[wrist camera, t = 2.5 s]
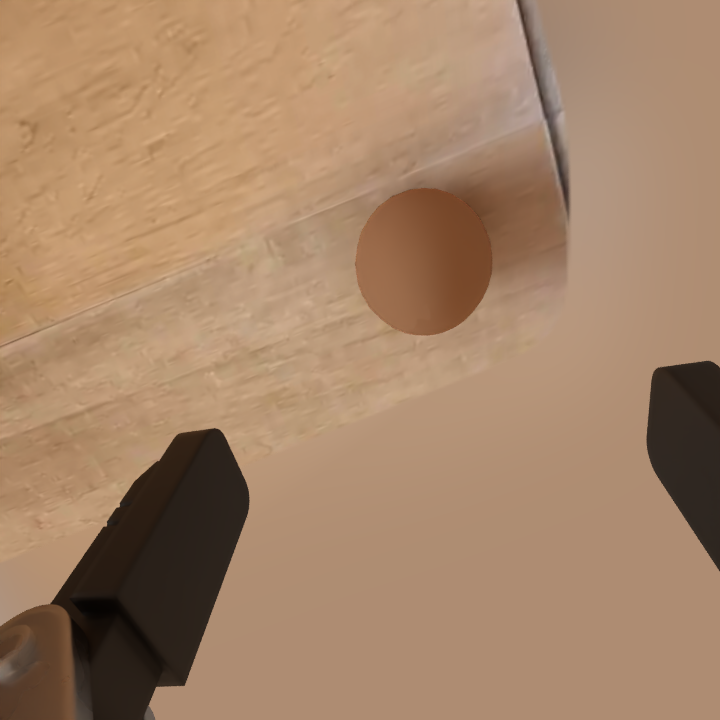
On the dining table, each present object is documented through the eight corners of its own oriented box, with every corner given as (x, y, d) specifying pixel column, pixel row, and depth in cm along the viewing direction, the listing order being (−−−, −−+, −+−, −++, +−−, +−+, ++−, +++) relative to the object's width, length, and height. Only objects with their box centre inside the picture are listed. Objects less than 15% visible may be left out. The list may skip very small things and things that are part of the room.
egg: (501, 221, 21) (549, 286, 14) (428, 307, 23) (438, 399, 16) (408, 148, 20) (411, 180, 13) (341, 247, 22) (313, 318, 15)
